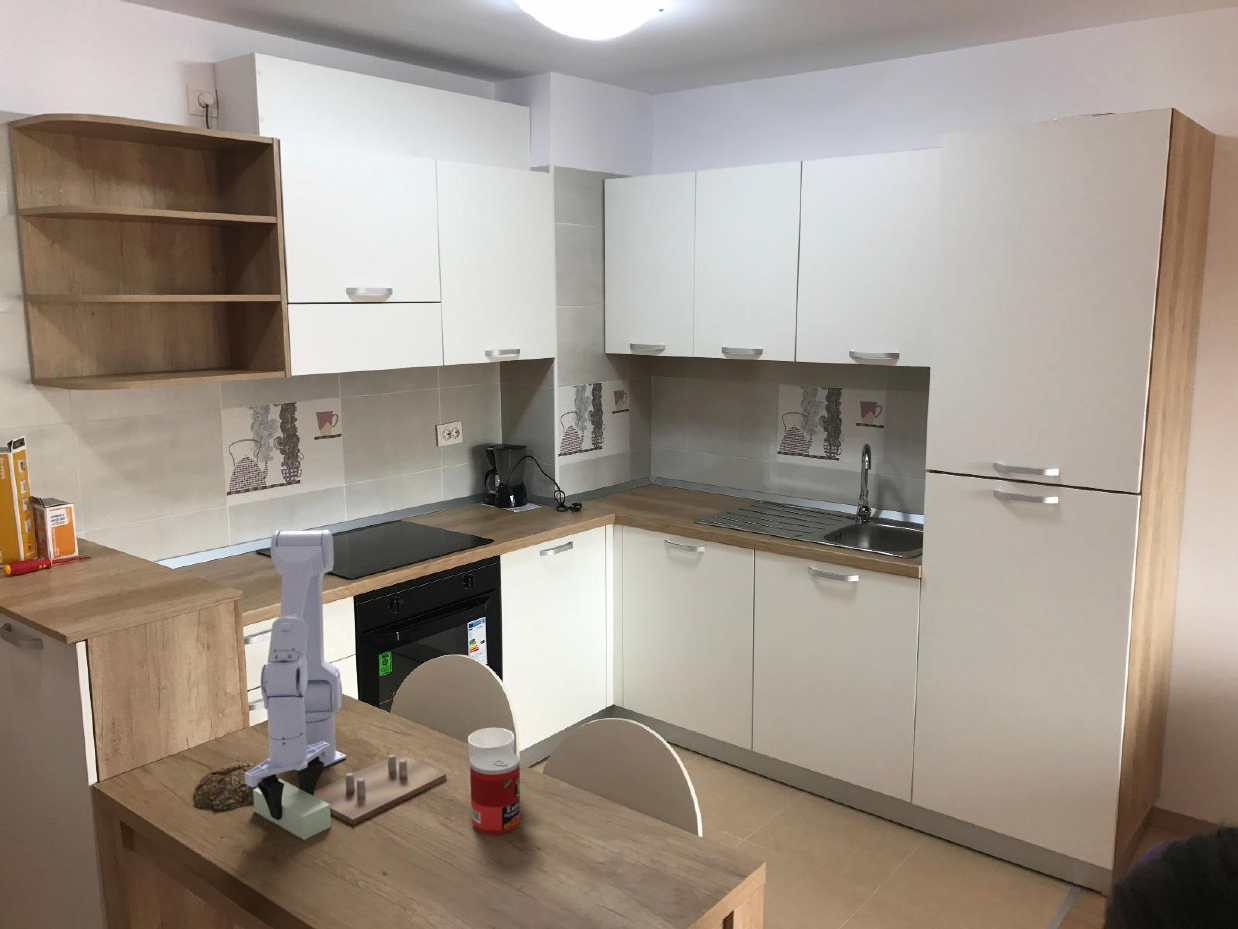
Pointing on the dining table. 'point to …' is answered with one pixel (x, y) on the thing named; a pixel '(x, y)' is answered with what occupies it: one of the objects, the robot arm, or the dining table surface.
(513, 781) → the canned food
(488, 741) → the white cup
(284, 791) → the pale green rectangular block
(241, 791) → the bread roll
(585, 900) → the dining table surface
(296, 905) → the dining table surface
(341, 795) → the peg base
